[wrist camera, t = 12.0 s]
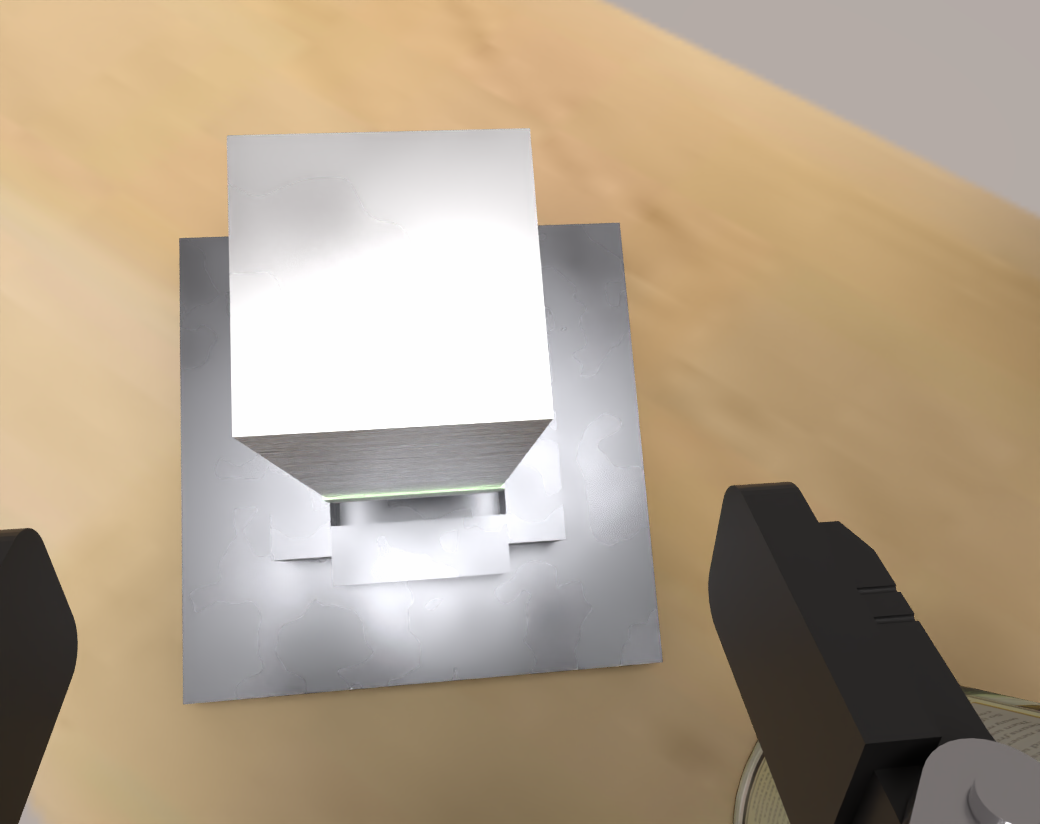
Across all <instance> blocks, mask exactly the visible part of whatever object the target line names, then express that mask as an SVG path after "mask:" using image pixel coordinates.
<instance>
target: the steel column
mask: <svg viewBox="0 0 1040 824" xmlns="http://www.w3.org/2000/svg"><path fill="white" fill-rule="evenodd" d="M227 168H228V223H229V278H230V333H231V388H232V437H233V438H235V439H236V440H238V441H239V442H241V443H242V444H244V445H245V446H247V447H248V448H250V449H251V450H253V451H254V452H256V453H258V454H259V455H261V456H262V457H264V458H265V459H267V460H268V461H270V462H271V463H273V464H274V465H276V466H277V467H279V468H280V469H282V470H283V471H285V472H287V473H288V474H290V475H291V476H293V477H294V478H296V479H297V480H299V481H300V482H302V483H303V484H305V485H306V486H308V487H309V488H311V489H313V490H314V491H316V492H317V493H319V494H320V495H322V496H323V500H324V501H325V502H327V503H331V502H332V503H347V502H362V501H377V500H392V499H407V498H422V497H437V496H452V495H468V494H483V493H497V492H498V491H503V490H504V488H505V485H504V483H505V482H506V481H507V479H508V478H509V477H510V475H511V474H512V473H513V471H514V470H515V469H516V467H517V466H518V465H519V463H520V462H521V461H522V459H523V458H524V457H525V455H526V454H527V453H528V451H529V450H530V449H531V447H532V446H533V445H534V444H535V442H536V441H537V440H538V438H539V437H540V436H541V434H542V433H543V432H544V430H545V429H546V428H547V426H548V425H549V424H550V422H551V421H552V420H553V407H552V394H551V382H550V370H549V358H548V345H547V333H546V321H545V309H544V296H543V284H542V272H541V260H540V247H539V235H538V223H537V211H536V198H535V186H534V174H533V161H532V149H531V137H530V128H524V129H482V130H440V131H398V132H356V133H313V134H271V135H229V136H227Z"/></svg>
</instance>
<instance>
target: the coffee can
mask: <svg viewBox="0 0 1040 824" xmlns="http://www.w3.org/2000/svg"><path fill="white" fill-rule="evenodd" d="M960 687H961V689H962V690H963V692H964V693H965V695H966V697H967V698H968V700H969V701H970V703H971V704H972V706H973V708H974V709H975V711H976V712H977V714H978V716H979V717H980V719H981V720H982V722H983V723H984V725H985V727H986V728H987V730H988V731H989V733H990V734H991V735H992V737H993V738H994V739H995V741H996V742H999V743H1002V744H1004V745H1007V746H1010V747H1013V748H1015V749H1017V750H1019V751H1021V752H1023V753H1025V754H1027V755H1029V756H1030V757H1032V758H1034V759H1035V760H1037V761H1038V762H1040V703H1037V702H1033V701H1028V700H1024V699H1019V698H1014V697H1010V696H1005V695H1001V694H996V693H992V692H987V691H983V690H978V689H973V688H969V687H964V686H960ZM733 824H790V822H789V819H788V817H787V814H786V811H785V809H784V806H783V803H782V801H781V798H780V796H779V793H778V790H777V788H776V785H775V782H774V780H773V777H772V775H771V772H770V769H769V767H768V764H767V762H766V759H765V756H764V754H763V751H762V748H761V746H760V743H759V741H758V742H757V744H756V746H755V747H754V750H753V752H752V754H751V756H750V758H749V760H748V762H747V764H746V767H745V769H744V771H743V774H742V778H741V781H740V785H739V789H738V793H737V796H736V803H735V811H734V822H733Z"/></svg>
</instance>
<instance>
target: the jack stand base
mask: <svg viewBox="0 0 1040 824" xmlns="http://www.w3.org/2000/svg"><path fill="white" fill-rule="evenodd" d="M538 235H539V247H540V260H541V272H542V284H543V296H544V309H545V321H546V333H547V345H548V358H549V370H550V382H551V394H552V407H553V420H552V421H551V422H550V424H549V425H548V426H547V428H546V429H545V430H544V432H543V433H542V434H541V436H540V437H539V438H538V440H537V441H536V442H535V444H534V445H533V446H532V447H531V449H530V450H529V451H528V453H527V454H526V455H525V457H524V458H523V459H522V461H521V462H520V463H519V465H518V466H517V467H516V469H515V470H514V471H513V473H512V474H511V475H510V477H509V478H508V479H507V481H506V482H505V483H504V485H505V488H504V490H503V491H498V492H497V493H483V494H468V495H452V496H437V497H422V498H407V499H392V500H377V501H362V502H347V503H332V502H331V503H327V502H325V501H324V500H323V496H322V495H320V494H319V493H317V492H316V491H314V490H313V489H311V488H309V487H308V486H306V485H305V484H303V483H302V482H300V481H299V480H297V479H296V478H294V477H293V476H291V475H290V474H288V473H287V472H285V471H283V470H282V469H280V468H279V467H277V466H276V465H274V464H273V463H271V462H270V461H268V460H267V459H265V458H264V457H262V456H261V455H259V454H258V453H256V452H254V451H253V450H251V449H250V448H248V447H247V446H245V445H244V444H242V443H241V442H239V441H238V440H236V439H235V438H233V437H232V388H231V333H230V278H229V237H202V238H179V246H180V369H181V491H182V614H183V704H192V703H204V702H215V701H226V700H238V699H249V698H261V697H272V696H283V695H295V694H306V693H317V692H329V691H340V690H352V689H363V688H374V687H386V686H397V685H408V684H420V683H431V682H443V681H454V680H465V679H477V678H488V677H499V676H511V675H522V674H534V673H545V672H556V671H568V670H579V669H590V668H602V667H613V666H625V665H636V664H647V663H659V662H663V659H662V649H661V639H660V629H659V619H658V608H657V598H656V588H655V578H654V568H653V558H652V548H651V537H650V527H649V517H648V507H647V497H646V487H645V476H644V466H643V456H642V446H641V436H640V426H639V415H638V405H637V395H636V385H635V375H634V365H633V354H632V344H631V334H630V324H629V314H628V304H627V293H626V283H625V273H624V263H623V253H622V243H621V232H620V223H599V224H571V225H543V226H538Z"/></svg>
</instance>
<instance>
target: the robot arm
mask: <svg viewBox="0 0 1040 824" xmlns="http://www.w3.org/2000/svg"><path fill="white" fill-rule="evenodd" d="M708 591H709V603H710V609H711V614H712V618H713V622H714V625H715V628H716V631H717V633H718V636H719V638H720V641H721V644H722V646H723V649H724V652H725V654H726V657H727V659H728V662H729V665H730V667H731V670H732V672H733V675H734V678H735V680H736V683H737V686H738V688H739V691H740V693H741V696H742V699H743V701H744V704H745V707H746V709H747V712H748V714H749V717H750V720H751V722H752V725H753V727H754V730H755V733H756V735H757V738H758V741H759V743H760V746H761V748H762V751H763V754H764V756H765V759H766V762H767V764H768V767H769V769H770V772H771V775H772V777H773V780H774V782H775V785H776V788H777V790H778V793H779V796H780V798H781V801H782V803H783V806H784V809H785V811H786V814H787V817H788V819H789V822H790V824H1040V762H1038V761H1037V760H1035V759H1034V758H1032V757H1030V756H1029V755H1027V754H1025V753H1023V752H1021V751H1019V750H1017V749H1015V748H1013V747H1010V746H1007V745H1004V744H1002V743H999V742H996V741H995V739H994V738H993V737H992V735H991V734H990V733H989V731H988V730H987V728H986V727H985V725H984V723H983V722H982V720H981V719H980V717H979V716H978V714H977V712H976V711H975V709H974V708H973V706H972V704H971V703H970V701H969V700H968V698H967V697H966V695H965V693H964V692H963V690H962V689H961V687H960V685H959V684H958V682H957V681H956V679H955V678H954V676H953V674H952V673H951V671H950V670H949V668H948V666H947V665H946V663H945V662H944V660H943V659H942V657H941V655H940V654H939V652H938V651H937V649H936V647H935V646H934V644H933V643H932V641H931V639H930V638H929V636H928V635H927V633H926V632H925V630H924V628H923V627H922V625H921V624H920V622H919V621H915V619H914V613H913V611H912V609H911V608H910V606H909V605H908V603H907V601H906V600H905V598H904V597H903V595H902V594H901V592H897V591H896V584H895V582H894V581H893V579H892V578H891V576H890V575H889V573H888V571H887V570H886V568H885V567H884V565H883V563H882V562H881V560H880V559H879V557H878V556H877V554H876V552H875V551H874V550H873V549H872V548H871V547H870V546H868V545H867V544H866V543H865V542H864V541H862V540H861V539H860V538H859V537H857V536H856V535H855V534H854V533H852V532H851V531H850V530H849V529H848V528H846V527H845V526H844V525H843V524H841V523H840V522H839V521H835V522H820V523H819V522H818V521H817V519H816V517H815V516H814V514H813V512H812V510H811V509H810V507H809V505H808V503H807V502H806V500H805V498H804V497H803V495H802V493H801V491H800V490H799V488H798V487H797V486H796V485H795V484H793V483H792V482H780V483H764V484H748V485H733V486H730V487H729V488H728V489H727V491H726V493H725V495H724V499H723V504H722V509H721V515H720V520H719V525H718V530H717V535H716V541H715V546H714V551H713V556H712V562H711V567H710V572H709V582H708ZM77 646H78V641H77V630H76V624H75V621H74V617H73V615H72V612H71V610H70V607H69V605H68V602H67V600H66V597H65V595H64V592H63V590H62V587H61V585H60V582H59V580H58V577H57V575H56V572H55V570H54V568H53V565H52V563H51V560H50V558H49V555H48V553H47V550H46V548H45V545H44V543H43V541H42V538H41V537H40V535H39V534H38V533H37V532H36V531H35V530H33V529H30V528H23V529H8V530H0V824H18V823H19V820H20V817H21V815H22V812H23V809H24V807H25V804H26V801H27V798H28V796H29V793H30V790H31V788H32V785H33V782H34V779H35V777H36V774H37V771H38V769H39V766H40V763H41V760H42V758H43V755H44V752H45V750H46V747H47V744H48V741H49V739H50V736H51V733H52V731H53V728H54V725H55V722H56V720H57V717H58V714H59V712H60V709H61V706H62V703H63V701H64V698H65V695H66V693H67V690H68V687H69V684H70V682H71V679H72V676H73V673H74V669H75V665H76V659H77Z"/></svg>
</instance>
